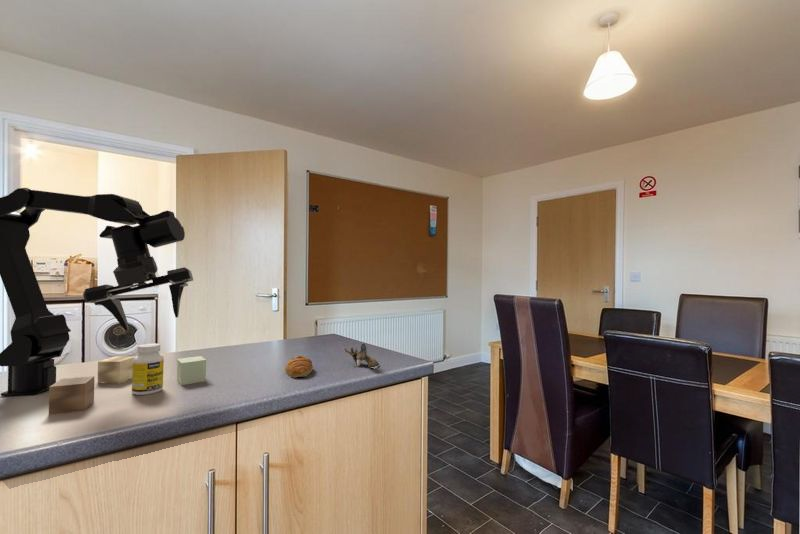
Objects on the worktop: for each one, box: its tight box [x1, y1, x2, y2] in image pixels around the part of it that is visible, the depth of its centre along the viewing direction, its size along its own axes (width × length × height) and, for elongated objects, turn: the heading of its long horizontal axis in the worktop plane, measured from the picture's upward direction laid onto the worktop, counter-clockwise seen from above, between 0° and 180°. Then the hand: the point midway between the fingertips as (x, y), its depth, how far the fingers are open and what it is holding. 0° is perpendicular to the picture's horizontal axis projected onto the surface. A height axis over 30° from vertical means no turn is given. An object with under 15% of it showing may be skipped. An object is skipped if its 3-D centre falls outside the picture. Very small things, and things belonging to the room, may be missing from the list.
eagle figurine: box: [344, 343, 380, 369], centre depth 100 cm, size 8×7×9 cm
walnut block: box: [48, 376, 95, 416], centre depth 68 cm, size 5×5×5 cm
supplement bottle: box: [131, 342, 165, 396], centre depth 77 cm, size 5×5×10 cm
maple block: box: [97, 355, 137, 384], centre depth 85 cm, size 5×5×5 cm
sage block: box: [176, 355, 207, 386], centre depth 85 cm, size 5×5×5 cm
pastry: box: [284, 355, 314, 379], centre depth 92 cm, size 9×7×4 cm
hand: (152, 323), depth 78 cm, fingers open, 9 cm apart
